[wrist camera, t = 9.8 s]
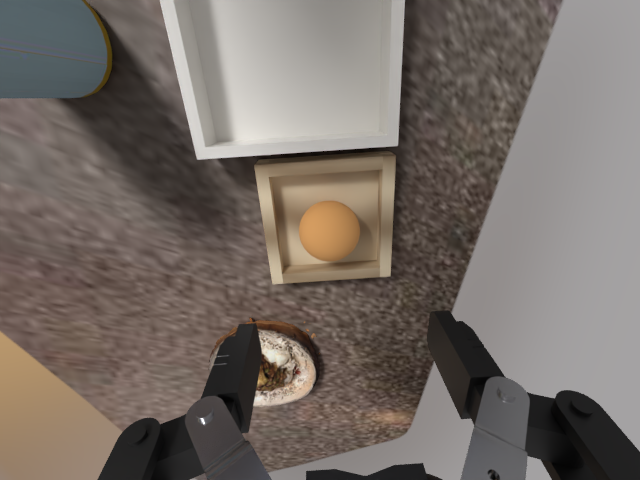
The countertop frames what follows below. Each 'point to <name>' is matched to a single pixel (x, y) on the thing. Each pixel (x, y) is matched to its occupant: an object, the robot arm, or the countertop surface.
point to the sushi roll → (281, 363)
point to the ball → (329, 230)
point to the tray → (327, 185)
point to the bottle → (52, 49)
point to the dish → (287, 74)
